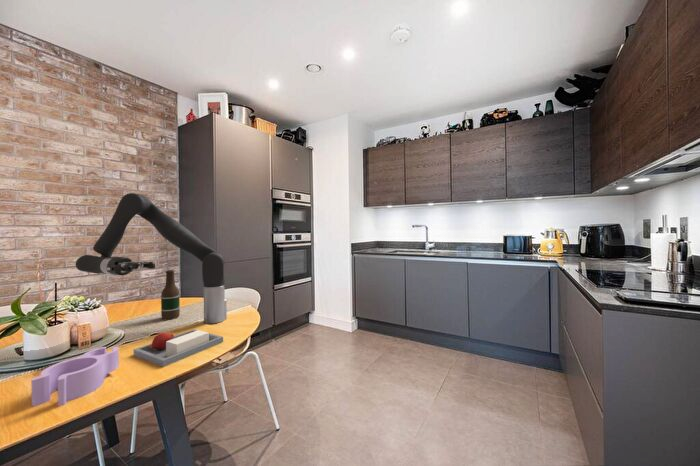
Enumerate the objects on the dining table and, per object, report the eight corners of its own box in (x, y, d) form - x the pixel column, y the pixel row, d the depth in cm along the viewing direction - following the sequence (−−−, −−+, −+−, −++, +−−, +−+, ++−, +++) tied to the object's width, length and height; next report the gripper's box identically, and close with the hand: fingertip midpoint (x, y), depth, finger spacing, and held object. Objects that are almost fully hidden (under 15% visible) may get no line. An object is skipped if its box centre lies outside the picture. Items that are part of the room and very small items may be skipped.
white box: (198, 343, 107) (198, 330, 107) (208, 345, 105) (208, 332, 105) (166, 355, 97) (166, 341, 97) (177, 359, 94) (176, 344, 94)
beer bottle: (157, 319, 138) (156, 271, 138) (170, 315, 146) (169, 269, 145) (171, 320, 137) (170, 271, 136) (183, 315, 145) (182, 269, 144)
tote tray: (194, 336, 117) (193, 329, 117) (223, 344, 108) (223, 336, 108) (133, 357, 97) (133, 349, 97) (163, 370, 89) (163, 360, 89)
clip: (91, 368, 91) (91, 346, 91) (130, 367, 91) (130, 346, 91) (20, 407, 71) (20, 380, 71) (71, 406, 71) (70, 379, 71)
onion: (176, 337, 101) (151, 352, 96) (178, 343, 105) (155, 357, 100) (168, 325, 103) (143, 339, 98) (171, 331, 107) (148, 345, 102)
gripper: (96, 258, 109) (123, 259, 104) (134, 255, 123) (160, 256, 117) (96, 277, 110) (123, 280, 104) (135, 272, 123) (161, 274, 117)
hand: (143, 267), depth 111 cm, fingers open, 8 cm apart
